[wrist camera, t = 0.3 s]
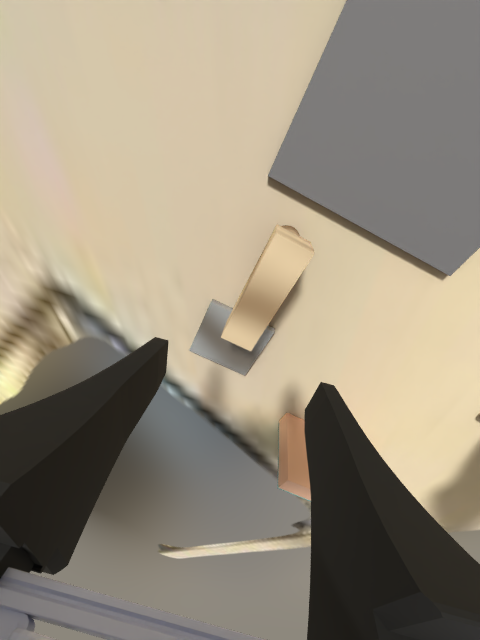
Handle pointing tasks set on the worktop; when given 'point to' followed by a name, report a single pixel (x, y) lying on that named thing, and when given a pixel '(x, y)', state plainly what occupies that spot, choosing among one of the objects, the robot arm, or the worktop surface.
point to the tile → (293, 457)
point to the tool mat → (395, 127)
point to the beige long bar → (253, 304)
